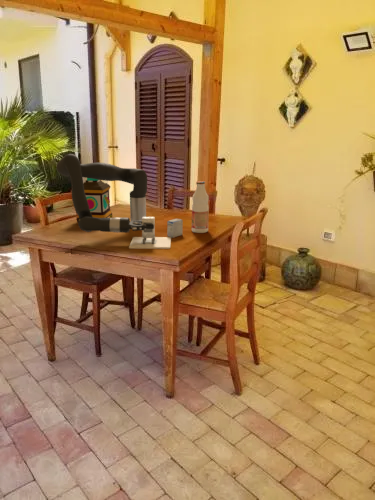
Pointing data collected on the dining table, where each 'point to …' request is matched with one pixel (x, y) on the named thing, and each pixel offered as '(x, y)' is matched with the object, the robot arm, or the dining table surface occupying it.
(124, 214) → the dining table surface
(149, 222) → the drive
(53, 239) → the dining table surface
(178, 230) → the medicine box
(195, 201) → the fruit juice
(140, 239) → the pin tray
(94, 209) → the decorative lantern
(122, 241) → the dining table surface
